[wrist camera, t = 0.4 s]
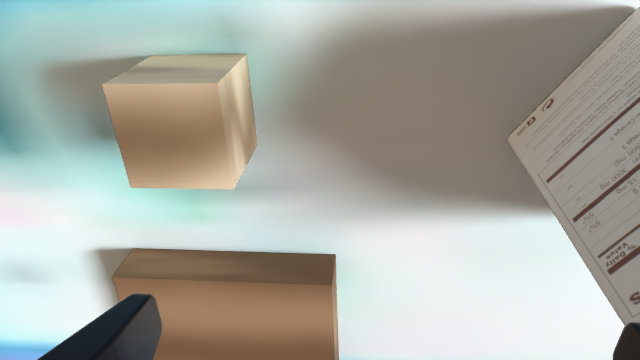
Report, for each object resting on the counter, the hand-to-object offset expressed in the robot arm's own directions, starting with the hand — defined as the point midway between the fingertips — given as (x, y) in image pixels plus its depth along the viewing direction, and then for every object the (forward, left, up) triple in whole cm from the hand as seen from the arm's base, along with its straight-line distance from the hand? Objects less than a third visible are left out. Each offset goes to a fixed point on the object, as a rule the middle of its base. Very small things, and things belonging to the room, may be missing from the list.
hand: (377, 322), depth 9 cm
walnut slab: (-15, +8, -14) cm, 22 cm away
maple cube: (0, +8, -14) cm, 16 cm away
